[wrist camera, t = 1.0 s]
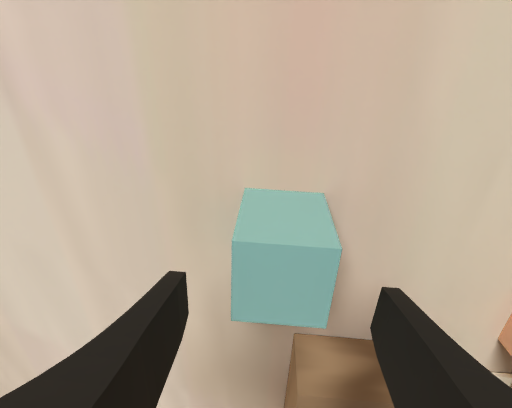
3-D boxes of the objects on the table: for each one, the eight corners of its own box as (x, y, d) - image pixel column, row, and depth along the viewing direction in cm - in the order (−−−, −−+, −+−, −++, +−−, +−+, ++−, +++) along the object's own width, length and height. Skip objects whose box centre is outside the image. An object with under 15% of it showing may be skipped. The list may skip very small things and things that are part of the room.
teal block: (323, 192, 16) (342, 249, 11) (313, 257, 17) (326, 328, 13) (245, 187, 16) (231, 240, 11) (243, 252, 17) (230, 320, 13)
